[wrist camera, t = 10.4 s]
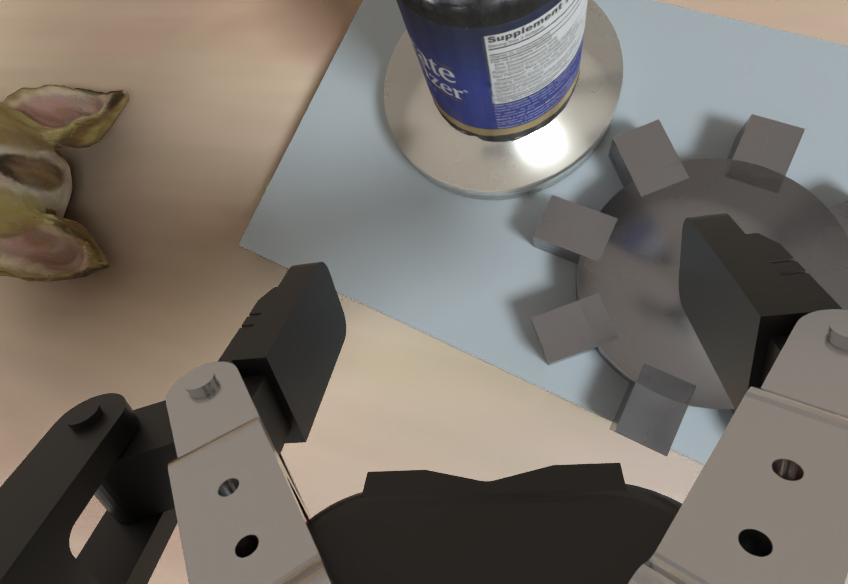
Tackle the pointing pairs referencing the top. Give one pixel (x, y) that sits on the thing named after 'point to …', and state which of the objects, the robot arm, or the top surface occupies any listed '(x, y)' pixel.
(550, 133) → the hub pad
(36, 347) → the top surface
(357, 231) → the gear board
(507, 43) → the pill bottle
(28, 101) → the ceramic sculpture
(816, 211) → the gear
